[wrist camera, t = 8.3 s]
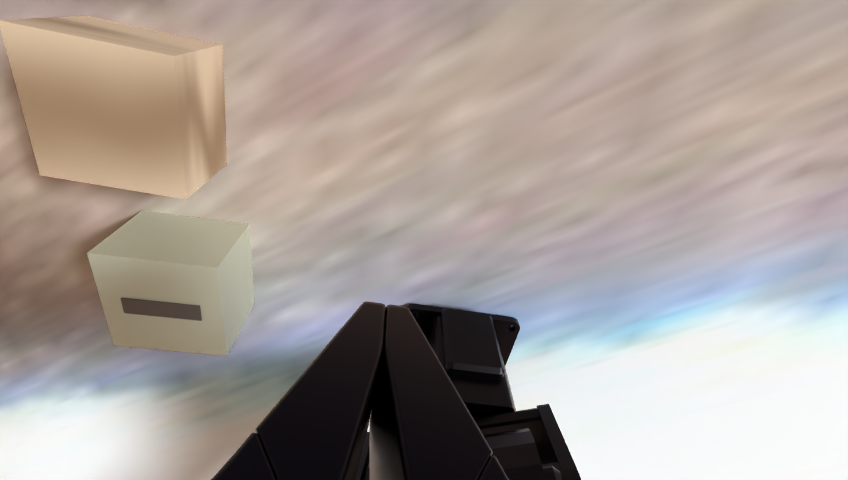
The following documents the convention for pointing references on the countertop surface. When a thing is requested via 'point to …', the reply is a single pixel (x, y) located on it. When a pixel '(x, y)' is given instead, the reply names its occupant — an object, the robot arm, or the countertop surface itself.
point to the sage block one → (175, 282)
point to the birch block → (119, 103)
